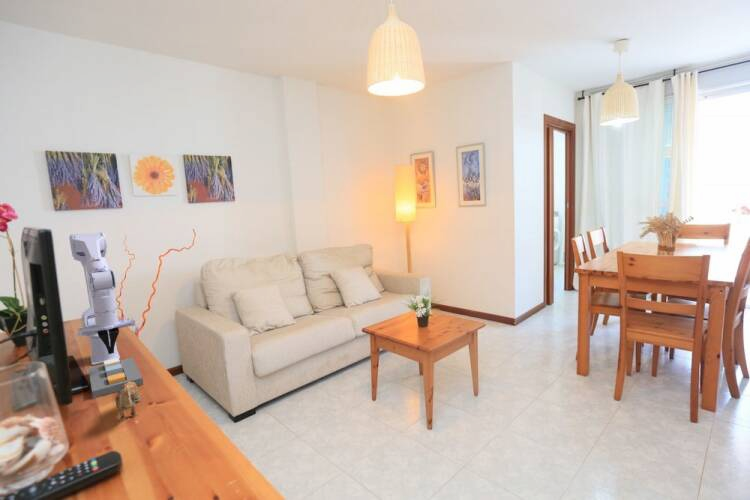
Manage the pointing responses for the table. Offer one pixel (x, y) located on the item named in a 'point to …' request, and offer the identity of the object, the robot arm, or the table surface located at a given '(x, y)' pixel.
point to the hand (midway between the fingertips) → (111, 352)
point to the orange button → (116, 378)
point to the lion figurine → (127, 399)
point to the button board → (101, 383)
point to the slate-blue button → (114, 370)
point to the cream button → (111, 362)
